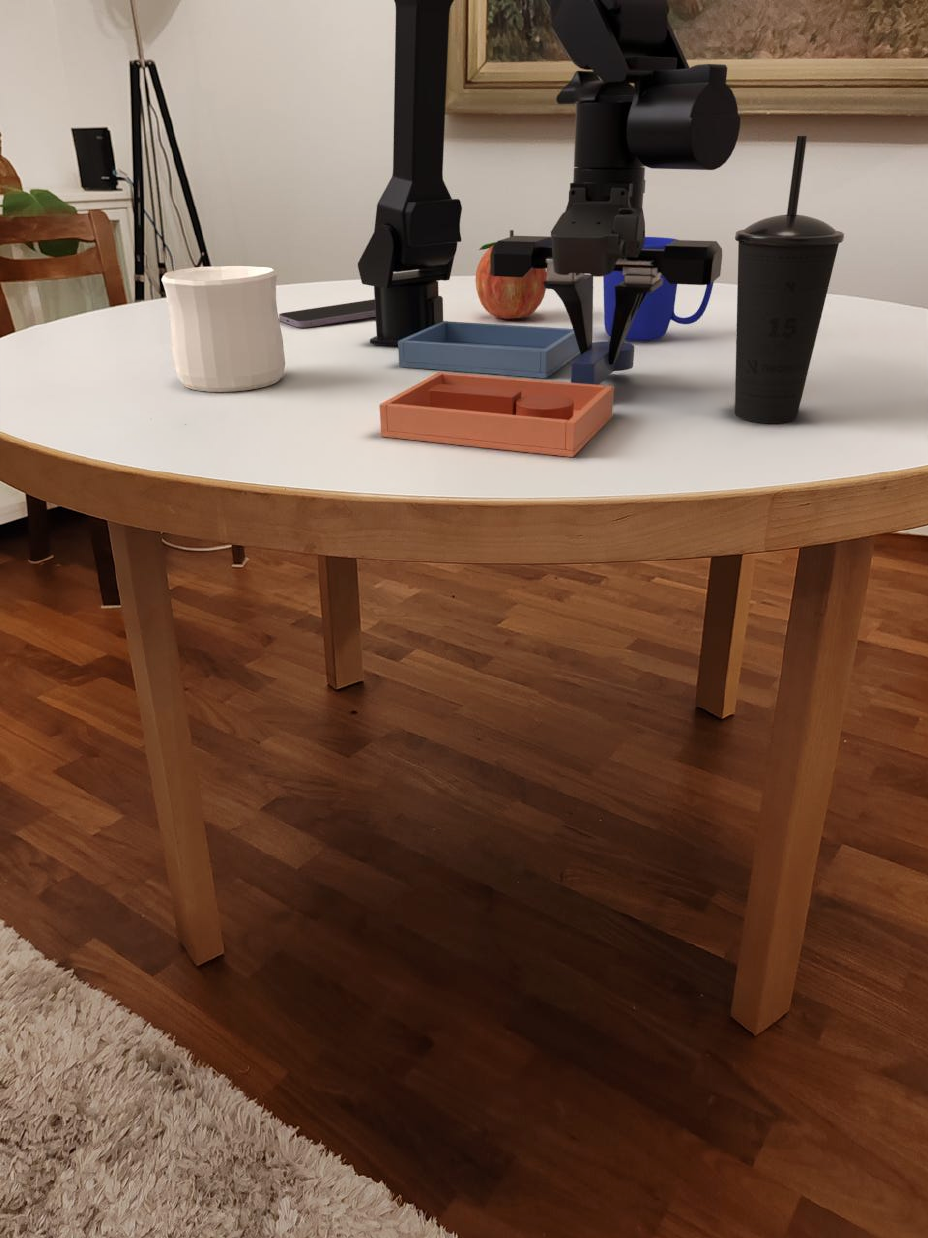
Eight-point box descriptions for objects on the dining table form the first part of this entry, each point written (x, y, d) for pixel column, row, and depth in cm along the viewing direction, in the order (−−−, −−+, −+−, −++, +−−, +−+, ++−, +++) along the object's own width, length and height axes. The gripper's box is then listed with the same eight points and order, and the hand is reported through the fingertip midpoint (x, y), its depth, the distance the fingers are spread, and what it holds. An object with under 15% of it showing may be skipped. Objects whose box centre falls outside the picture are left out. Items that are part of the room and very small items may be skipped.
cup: (171, 375, 91) (154, 268, 87) (274, 365, 95) (263, 261, 90) (184, 398, 84) (166, 282, 79) (295, 386, 87) (285, 274, 82)
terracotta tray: (380, 436, 72) (379, 404, 71) (439, 401, 82) (438, 371, 80) (573, 457, 67) (574, 422, 66) (612, 416, 76) (614, 385, 75)
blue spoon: (607, 391, 79) (608, 364, 78) (556, 387, 81) (557, 360, 80) (637, 362, 88) (639, 338, 87) (592, 359, 90) (593, 335, 89)
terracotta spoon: (423, 421, 74) (422, 393, 73) (445, 407, 78) (444, 380, 77) (563, 434, 70) (564, 405, 69) (579, 419, 74) (581, 391, 73)
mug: (710, 347, 99) (721, 245, 95) (595, 344, 102) (600, 244, 97) (708, 332, 107) (718, 236, 102) (600, 329, 109) (605, 236, 104)
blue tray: (398, 366, 93) (397, 340, 92) (443, 344, 103) (443, 320, 101) (546, 378, 88) (547, 351, 87) (579, 353, 97) (580, 329, 96)
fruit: (518, 308, 122) (519, 225, 117) (563, 319, 115) (566, 231, 110) (461, 315, 118) (460, 229, 113) (503, 327, 111) (503, 235, 106)
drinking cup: (703, 404, 79) (731, 136, 70) (792, 401, 80) (831, 134, 71) (734, 430, 72) (769, 136, 63) (831, 426, 73) (880, 134, 64)
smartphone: (275, 313, 117) (382, 297, 124) (276, 322, 118) (383, 306, 124) (299, 322, 112) (410, 304, 118) (300, 331, 112) (410, 314, 119)
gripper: (465, 171, 73) (467, 375, 80) (710, 172, 67) (688, 393, 74) (513, 166, 82) (511, 349, 90) (732, 166, 76) (711, 363, 83)
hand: (599, 362), depth 84 cm, fingers closed on blue spoon, 2 cm apart
